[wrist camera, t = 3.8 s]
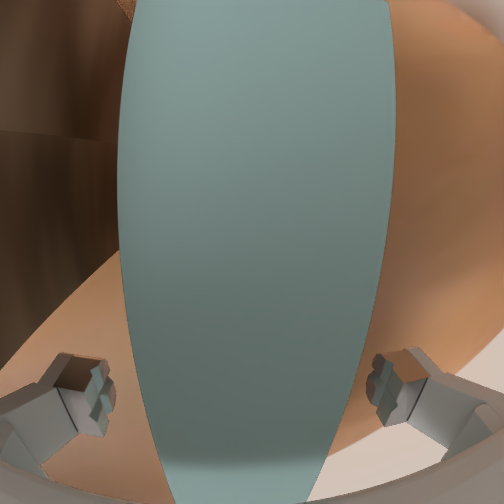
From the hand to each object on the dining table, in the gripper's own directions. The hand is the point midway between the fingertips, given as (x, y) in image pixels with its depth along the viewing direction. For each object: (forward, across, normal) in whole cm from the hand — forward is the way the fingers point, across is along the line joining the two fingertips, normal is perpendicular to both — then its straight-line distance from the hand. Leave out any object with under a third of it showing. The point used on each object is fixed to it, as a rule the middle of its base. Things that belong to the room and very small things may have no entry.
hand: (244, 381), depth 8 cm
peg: (+2, 0, 0) cm, 2 cm away
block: (+4, +8, -7) cm, 11 cm away
